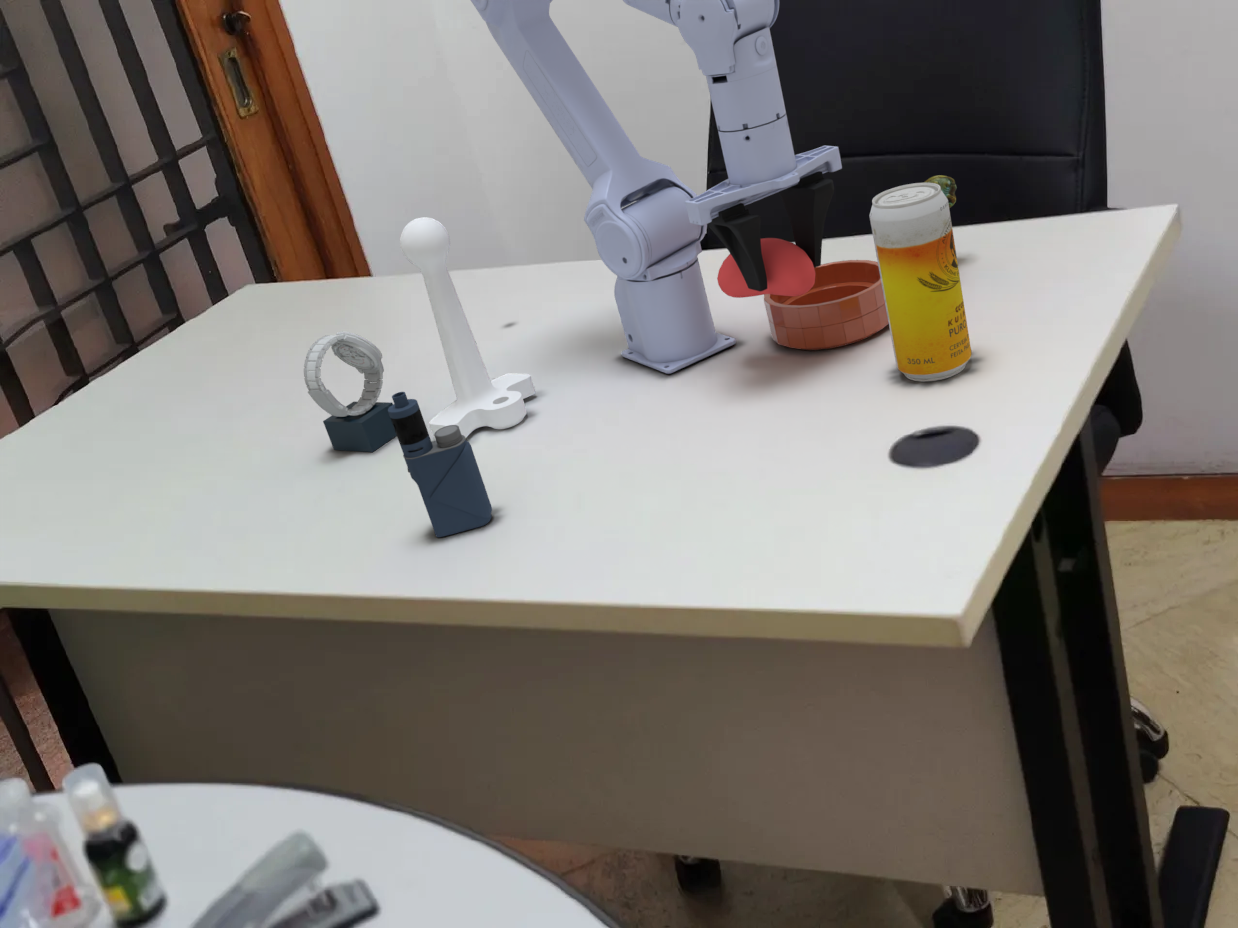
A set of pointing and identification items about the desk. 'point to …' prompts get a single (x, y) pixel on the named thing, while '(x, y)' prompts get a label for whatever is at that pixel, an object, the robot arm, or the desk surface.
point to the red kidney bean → (772, 271)
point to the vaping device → (441, 470)
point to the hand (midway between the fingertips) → (784, 277)
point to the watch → (359, 420)
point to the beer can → (920, 281)
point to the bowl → (830, 308)
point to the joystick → (461, 342)
